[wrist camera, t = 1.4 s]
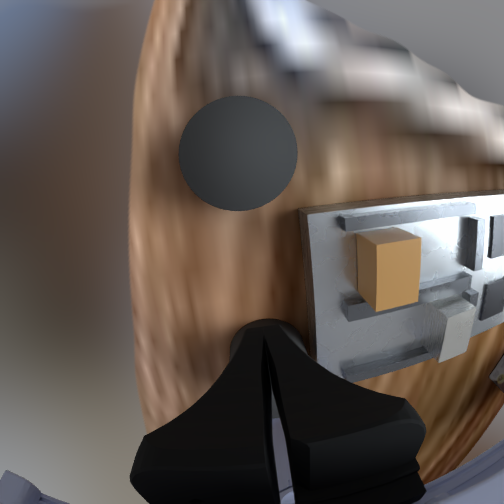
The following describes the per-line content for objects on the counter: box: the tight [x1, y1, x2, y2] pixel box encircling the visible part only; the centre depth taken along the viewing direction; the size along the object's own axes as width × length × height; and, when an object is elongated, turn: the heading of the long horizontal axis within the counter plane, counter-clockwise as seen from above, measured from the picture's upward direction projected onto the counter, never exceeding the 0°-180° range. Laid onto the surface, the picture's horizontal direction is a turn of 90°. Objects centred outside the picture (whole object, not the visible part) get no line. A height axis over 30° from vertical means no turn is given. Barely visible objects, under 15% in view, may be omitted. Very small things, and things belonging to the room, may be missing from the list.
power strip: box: [298, 190, 504, 383], centre depth 19 cm, size 26×13×6 cm, turn 98°
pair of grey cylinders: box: [179, 96, 308, 419], centre depth 18 cm, size 6×21×5 cm, turn 8°
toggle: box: [356, 227, 421, 312], centre depth 16 cm, size 3×4×3 cm
